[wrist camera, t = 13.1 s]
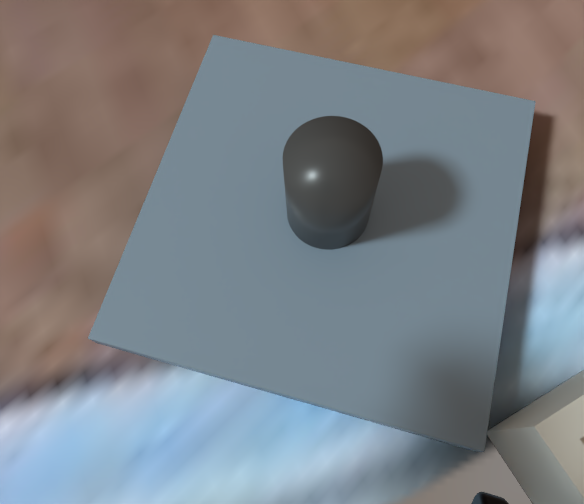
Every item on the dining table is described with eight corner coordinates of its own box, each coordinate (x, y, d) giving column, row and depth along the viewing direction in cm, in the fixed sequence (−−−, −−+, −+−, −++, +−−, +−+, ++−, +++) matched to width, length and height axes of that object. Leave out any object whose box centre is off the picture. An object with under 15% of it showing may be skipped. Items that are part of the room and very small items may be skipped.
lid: (470, 451, 21) (532, 451, 16) (103, 346, 23) (35, 311, 17) (521, 123, 27) (581, 30, 21) (218, 59, 29) (196, -43, 23)
